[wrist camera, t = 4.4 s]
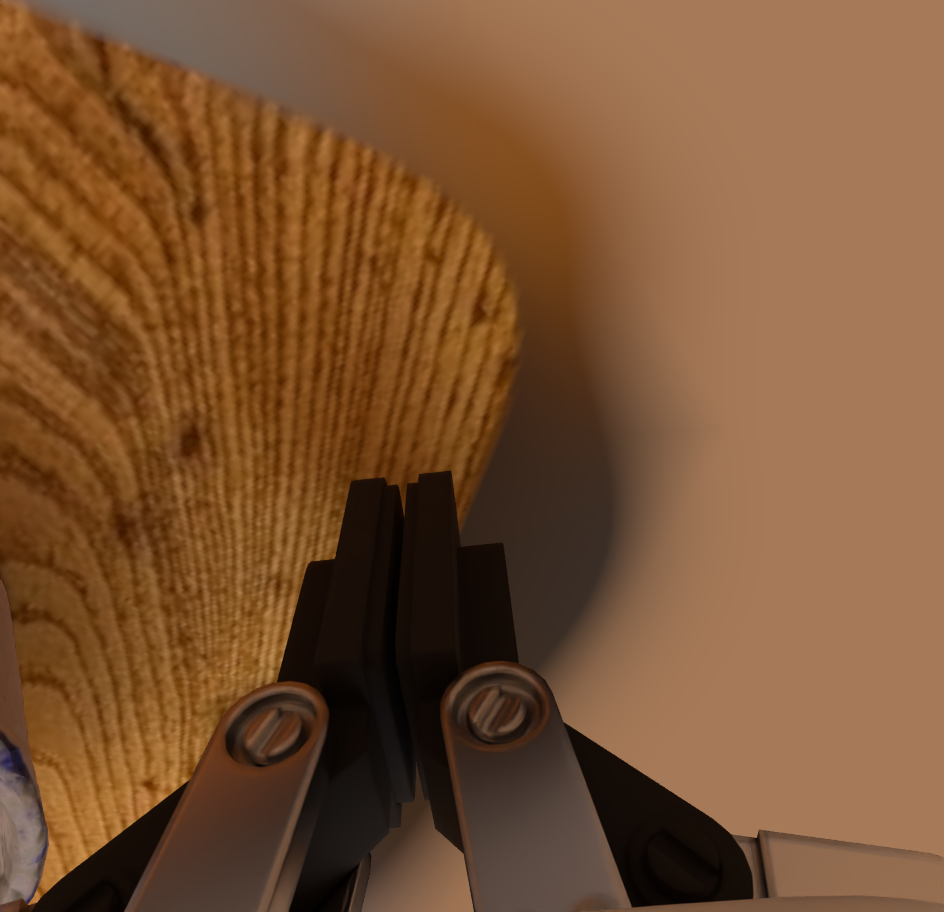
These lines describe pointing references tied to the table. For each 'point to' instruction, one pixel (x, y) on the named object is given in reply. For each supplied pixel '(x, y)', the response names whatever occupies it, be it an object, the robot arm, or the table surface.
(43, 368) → the table surface
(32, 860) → the bowl
